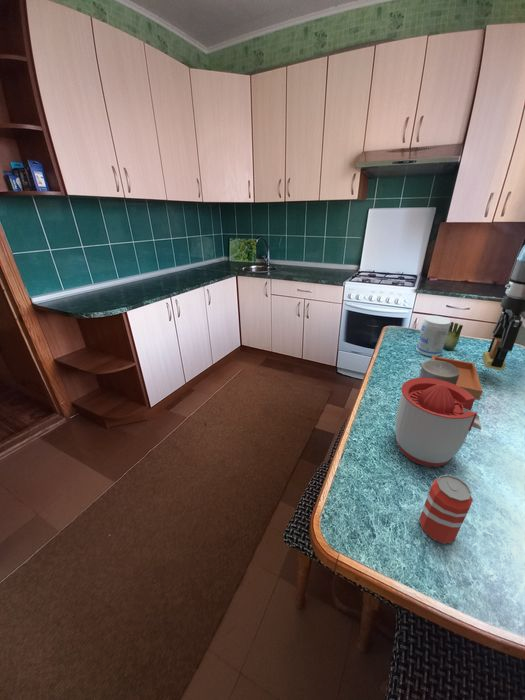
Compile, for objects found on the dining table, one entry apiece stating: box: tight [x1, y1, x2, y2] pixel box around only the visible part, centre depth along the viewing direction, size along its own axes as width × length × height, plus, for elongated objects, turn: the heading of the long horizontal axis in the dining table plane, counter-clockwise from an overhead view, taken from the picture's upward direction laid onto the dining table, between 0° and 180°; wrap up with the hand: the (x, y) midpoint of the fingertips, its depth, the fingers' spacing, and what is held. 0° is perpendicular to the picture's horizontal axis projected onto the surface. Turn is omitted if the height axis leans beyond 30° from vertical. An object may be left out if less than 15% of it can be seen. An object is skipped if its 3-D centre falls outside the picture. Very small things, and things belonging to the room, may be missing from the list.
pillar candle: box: [418, 359, 460, 385], centre depth 87 cm, size 10×10×15 cm
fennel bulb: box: [443, 321, 464, 351], centre depth 122 cm, size 6×5×12 cm
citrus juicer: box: [394, 377, 483, 468], centre depth 69 cm, size 16×17×20 cm
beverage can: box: [418, 474, 473, 544], centre depth 54 cm, size 6×6×12 cm
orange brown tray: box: [431, 356, 483, 400], centre depth 102 cm, size 14×20×3 cm
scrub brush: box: [481, 338, 507, 371], centre depth 98 cm, size 5×8×9 cm, turn 153°
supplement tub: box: [415, 315, 452, 357], centre depth 118 cm, size 10×10×15 cm
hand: (493, 360), depth 100 cm, fingers closed on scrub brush, 8 cm apart
